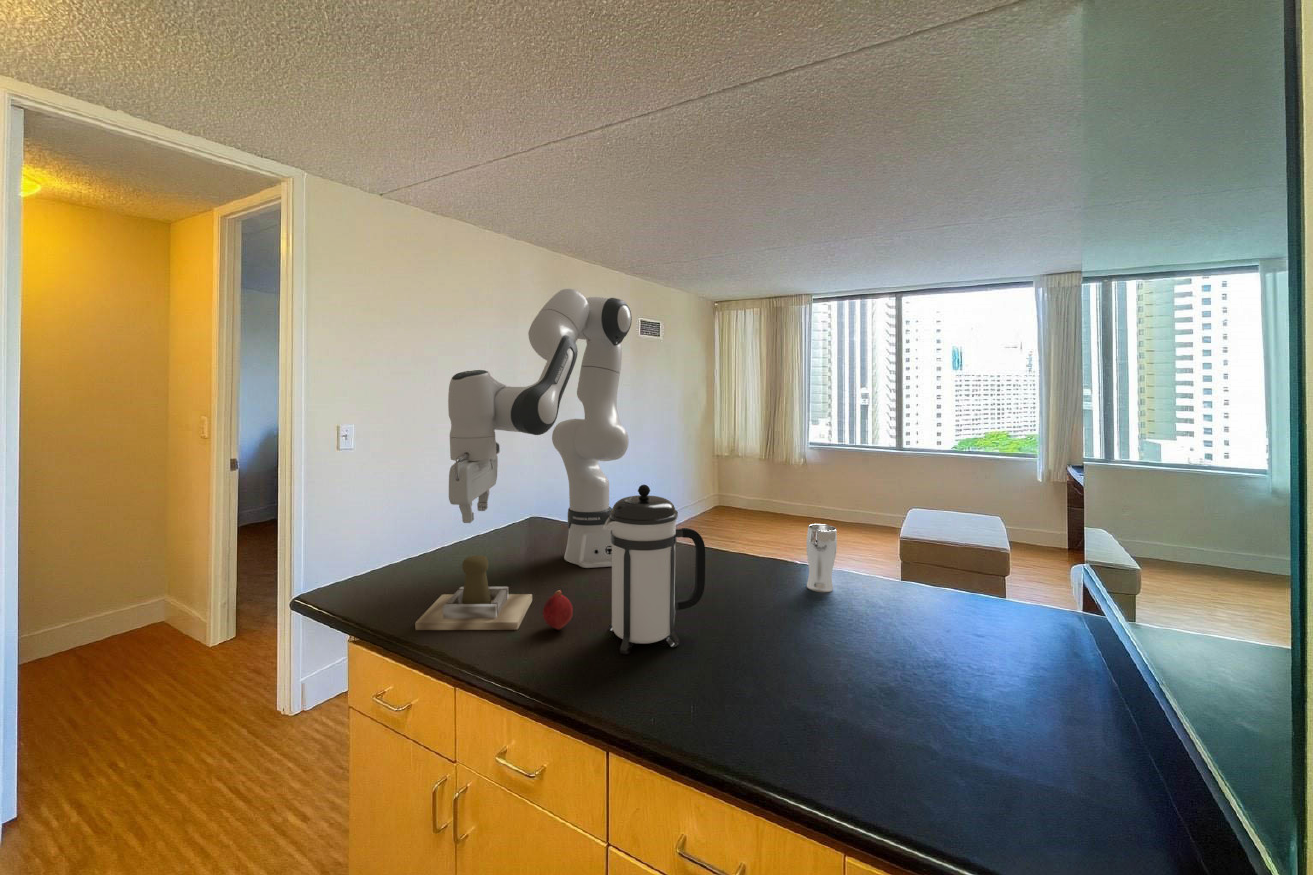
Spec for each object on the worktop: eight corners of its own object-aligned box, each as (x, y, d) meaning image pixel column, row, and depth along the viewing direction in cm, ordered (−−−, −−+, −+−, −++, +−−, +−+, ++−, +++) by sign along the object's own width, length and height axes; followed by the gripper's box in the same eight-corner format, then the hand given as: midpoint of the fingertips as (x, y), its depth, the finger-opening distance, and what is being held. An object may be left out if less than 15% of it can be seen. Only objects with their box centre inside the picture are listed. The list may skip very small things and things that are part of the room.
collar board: (532, 600, 117) (531, 583, 117) (517, 629, 103) (517, 610, 103) (442, 600, 116) (441, 583, 116) (415, 630, 102) (414, 610, 102)
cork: (496, 602, 112) (495, 552, 111) (483, 614, 106) (482, 562, 105) (469, 600, 113) (468, 551, 112) (455, 612, 107) (454, 560, 106)
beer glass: (803, 590, 124) (805, 529, 123) (806, 580, 131) (808, 522, 129) (833, 595, 122) (836, 532, 120) (835, 584, 128) (838, 525, 127)
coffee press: (660, 668, 89) (662, 497, 86) (588, 643, 98) (587, 486, 95) (705, 629, 104) (708, 481, 101) (639, 610, 112) (640, 473, 109)
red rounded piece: (547, 638, 99) (547, 598, 99) (539, 626, 104) (539, 588, 104) (576, 632, 102) (576, 592, 101) (567, 620, 107) (567, 583, 106)
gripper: (472, 457, 96) (475, 530, 97) (501, 444, 116) (503, 504, 118) (438, 457, 96) (441, 530, 97) (473, 444, 116) (475, 504, 118)
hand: (475, 516), depth 108 cm, fingers open, 8 cm apart
